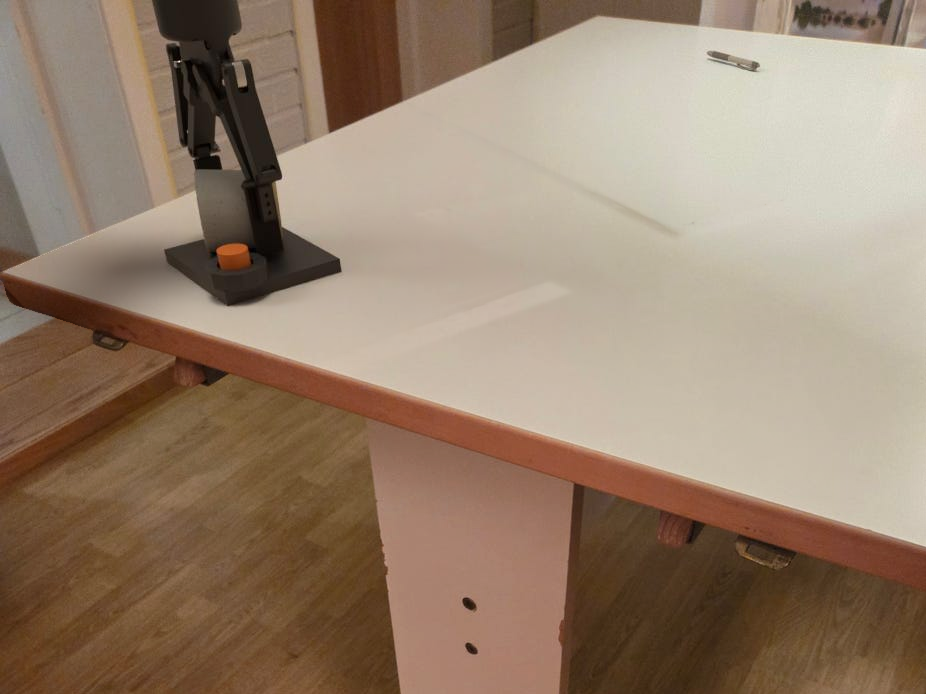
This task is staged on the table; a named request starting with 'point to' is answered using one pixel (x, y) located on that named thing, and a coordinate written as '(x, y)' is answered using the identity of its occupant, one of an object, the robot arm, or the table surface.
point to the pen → (735, 60)
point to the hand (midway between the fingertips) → (244, 237)
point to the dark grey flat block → (254, 268)
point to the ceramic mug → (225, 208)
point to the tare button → (233, 257)
